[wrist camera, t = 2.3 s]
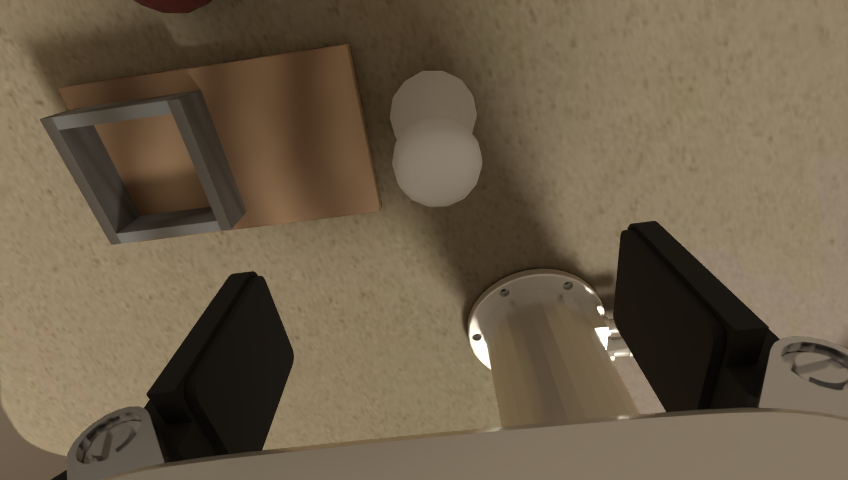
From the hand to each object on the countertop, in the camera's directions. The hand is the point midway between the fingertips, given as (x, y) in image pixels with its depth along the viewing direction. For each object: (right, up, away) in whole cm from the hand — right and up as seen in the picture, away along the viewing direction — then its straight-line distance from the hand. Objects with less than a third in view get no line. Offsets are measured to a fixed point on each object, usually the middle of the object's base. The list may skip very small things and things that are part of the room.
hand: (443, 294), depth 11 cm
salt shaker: (0, +11, +20) cm, 23 cm away
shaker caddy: (-15, +8, +21) cm, 27 cm away
